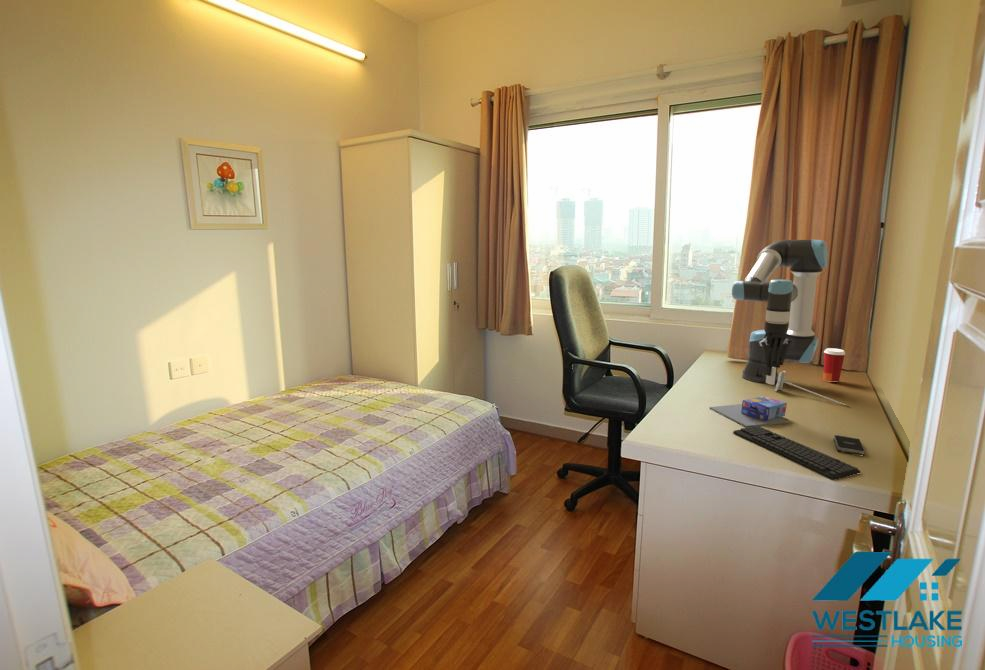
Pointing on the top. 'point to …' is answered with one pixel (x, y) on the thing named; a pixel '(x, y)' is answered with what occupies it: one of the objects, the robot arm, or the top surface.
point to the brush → (781, 381)
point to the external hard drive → (849, 445)
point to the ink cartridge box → (764, 408)
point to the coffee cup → (833, 364)
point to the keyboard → (797, 452)
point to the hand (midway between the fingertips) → (770, 383)
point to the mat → (744, 416)
